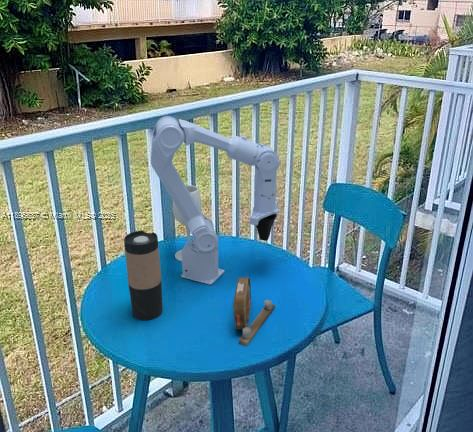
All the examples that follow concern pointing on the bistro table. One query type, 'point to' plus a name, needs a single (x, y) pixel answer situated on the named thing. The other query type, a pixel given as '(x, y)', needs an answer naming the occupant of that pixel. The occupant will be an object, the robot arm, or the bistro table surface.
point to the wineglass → (179, 217)
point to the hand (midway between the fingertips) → (264, 239)
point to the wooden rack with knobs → (256, 323)
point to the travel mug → (144, 274)
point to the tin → (242, 302)
